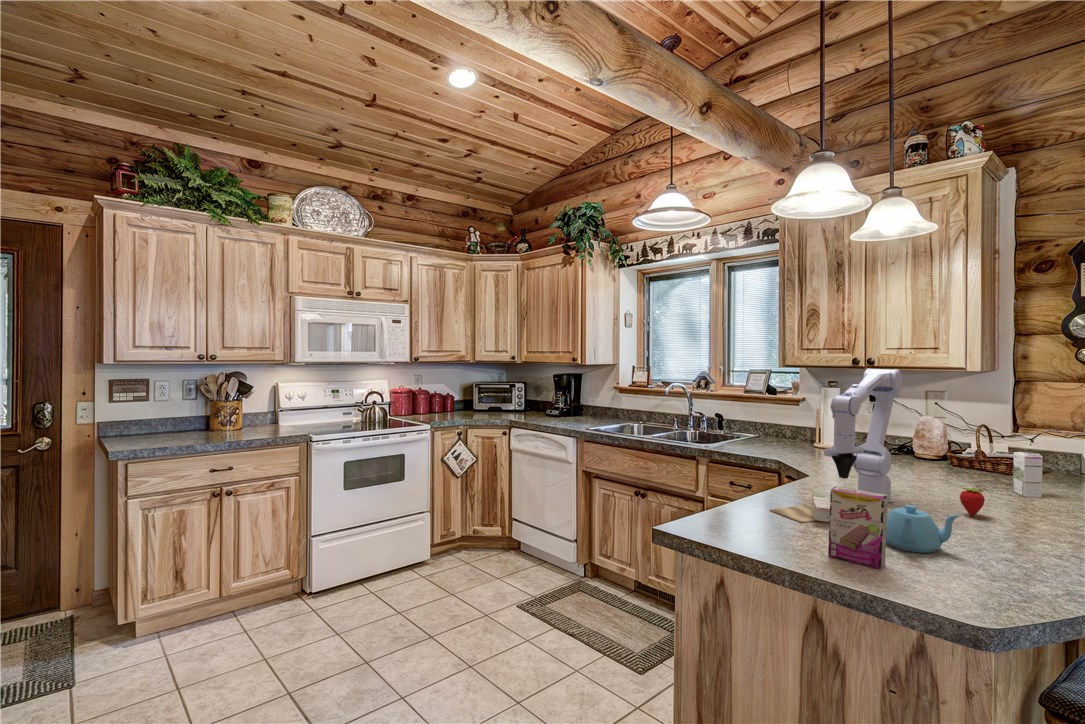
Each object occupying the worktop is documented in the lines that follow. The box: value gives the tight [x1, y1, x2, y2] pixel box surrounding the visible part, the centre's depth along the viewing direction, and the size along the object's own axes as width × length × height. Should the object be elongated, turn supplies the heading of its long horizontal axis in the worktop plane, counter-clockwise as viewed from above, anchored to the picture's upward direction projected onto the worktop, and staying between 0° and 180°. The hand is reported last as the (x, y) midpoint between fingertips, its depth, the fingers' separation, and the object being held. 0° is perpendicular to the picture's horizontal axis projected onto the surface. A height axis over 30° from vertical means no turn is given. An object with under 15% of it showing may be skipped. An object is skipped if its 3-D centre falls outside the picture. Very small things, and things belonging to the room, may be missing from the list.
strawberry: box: [959, 487, 986, 517], centre depth 160 cm, size 6×8×10 cm
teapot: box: [886, 504, 961, 554], centre depth 135 cm, size 15×15×10 cm
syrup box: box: [1012, 451, 1044, 498], centre depth 185 cm, size 6×6×14 cm
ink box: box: [811, 494, 830, 523], centre depth 155 cm, size 9×5×15 cm
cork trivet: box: [769, 504, 819, 524], centre depth 160 cm, size 14×12×1 cm
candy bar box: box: [827, 485, 889, 570], centre depth 125 cm, size 11×5×16 cm, turn 48°
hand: (843, 477), depth 166 cm, fingers closed
